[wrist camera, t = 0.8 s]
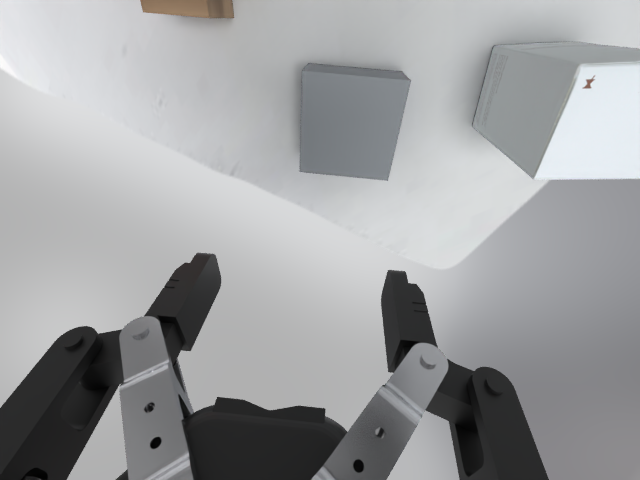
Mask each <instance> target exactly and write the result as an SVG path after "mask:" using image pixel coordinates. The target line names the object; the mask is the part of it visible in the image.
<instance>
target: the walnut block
mask: <svg viewBox="0 0 640 480" xmlns="http://www.w3.org/2000/svg"><path fill="white" fill-rule="evenodd" d="M140 1H141V5H142V9H143V12H147V13H158V14H170V15H181V16H192V17H204V18H234V14H233V3H232V0H140Z"/></svg>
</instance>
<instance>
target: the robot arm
mask: <svg viewBox="0 0 640 480" xmlns="http://www.w3.org/2000/svg"><path fill="white" fill-rule="evenodd" d="M220 286H221V275H220V271H219V267H218V263H217V259H216V256H215V255H214V254H207V253H197V254H196V255H195V256H194V258H193V260H192V261H191V263H184V264H183V265H181V266H180V267H179V268H178V269H176V270H175V272H174V273H173V274H172V276H171V277H170V279H169V281H168V282H167V283H166V285H165V287H164V288H163V289H162V291H161V292H160V294H159V295H158V297H157V298H156V300H155V301H154V303H153V304H152V305H151V307H150V309H149V310H148V311H147V313H146V314H145V316H144V317H140V318H137V319H135V320H133V321H131V322H130V323H128V324H127V325H126V326H125V327H124V328H123V329H122V330H117V331H111V332H106V333H100V334H98V333H97V332H96V331H95V329H93V328H92V327H88V326H84V327H78V328H74V329H72V330H70V331H68V332H66V333H65V334H63V335H61V336H60V337H59V338H58V339H57V340H56V341H55V342H54V343H53V345H52V346H51V347H50V348H49V349H48V351H47V352H46V353H45V354H44V356H43V357H42V358H41V359H40V360H39V362H38V363H37V364H36V365H35V367H34V368H33V369H32V370H31V371H30V373H29V374H28V375H27V376H26V378H25V379H24V380H23V381H22V382H21V384H20V385H19V386H18V387H17V388H16V390H15V391H14V392H13V393H12V395H11V396H10V397H9V398H8V399H7V401H6V402H5V403H4V404H3V405H2V407H1V408H0V480H67V478H68V476H69V474H70V472H71V471H72V469H73V467H74V465H75V463H76V462H77V460H78V458H79V456H80V454H81V452H82V451H83V449H84V447H85V445H86V443H87V442H88V440H89V438H90V436H91V434H92V433H93V431H94V429H95V427H96V425H97V424H98V422H99V420H100V418H101V417H102V415H103V413H104V411H105V409H106V408H107V406H108V404H109V402H110V400H111V399H112V397H113V395H114V393H115V391H116V389H117V388H118V386H119V384H121V385H120V401H121V411H122V419H123V420H122V421H123V430H124V440H125V449H126V458H127V468H128V469H127V470H126V471H125V472H124V473H123V474H122V475H120V476H119V477H118V478H117V479H116V480H386V479H387V478H388V476H389V474H390V472H391V470H392V469H393V467H394V465H395V464H396V462H397V460H398V458H399V457H400V455H401V453H402V451H403V450H404V448H405V446H406V444H407V442H408V441H409V439H410V437H411V435H412V434H413V432H414V430H415V428H416V427H417V425H418V423H419V421H420V419H421V418H422V415H423V413H424V412H425V410H426V411H428V412H430V413H433V414H435V415H437V416H439V417H441V418H444V419H446V420H448V421H449V424H450V430H451V435H452V440H453V446H454V451H455V456H456V462H457V467H458V473H459V478H460V480H549V479H548V477H547V474H546V471H545V468H544V466H543V463H542V460H541V458H540V455H539V453H538V450H537V447H536V444H535V442H534V439H533V437H532V434H531V431H530V428H529V426H528V423H527V420H526V418H525V415H524V413H523V410H522V407H521V405H520V402H519V399H518V397H517V394H516V391H515V389H514V386H513V385H512V383H511V382H510V381H509V379H508V378H507V377H506V376H505V375H503V374H502V373H501V372H499V371H497V370H495V369H493V368H489V367H480V368H478V369H476V370H475V371H472V370H469V369H467V368H464V367H462V366H460V365H457V364H455V363H453V362H451V361H450V360H448V359H447V358H446V356H445V355H444V353H443V352H442V351H441V350H440V349H438V347H437V344H436V341H435V337H434V333H433V329H432V325H431V321H430V317H429V314H428V309H427V306H426V302H425V298H424V294H423V292H422V291H421V289H420V288H419V287H418V286H417V284H410V283H408V280H407V275H406V272H405V271H394V270H388V272H387V276H386V279H385V283H384V287H383V291H382V298H381V306H382V317H383V326H384V336H385V345H386V355H387V363H388V372H393V375H392V376H391V377H390V379H389V380H388V381H387V383H386V384H385V385H383V386H381V388H380V389H379V390H378V391H377V393H376V394H375V395H374V397H373V398H372V400H371V401H370V402H369V404H368V405H367V406H366V408H365V409H364V410H363V412H362V413H361V415H360V416H359V417H358V419H357V420H356V422H355V423H354V424H353V425H352V427H351V428H350V430H349V431H348V432H347V431H346V430H345V429H344V428H343V427H342V426H341V425H339V424H338V423H337V422H335V421H334V420H332V419H330V418H328V417H326V416H325V409H324V408H315V407H306V406H294V407H289V408H283V409H277V410H266V409H264V408H261V407H259V406H257V405H254V404H252V403H250V402H247V401H245V400H240V399H231V398H221V397H217V399H216V402H215V405H213V406H209V407H206V408H203V409H201V410H199V411H196V412H195V413H194V411H193V409H192V406H191V403H190V401H189V398H188V394H187V391H186V387H185V384H184V380H183V376H182V373H181V369H180V365H179V362H178V359H177V357H178V355H179V353H180V351H181V350H184V351H191V349H192V347H193V345H194V343H195V340H196V338H197V336H198V334H199V332H200V330H201V328H202V325H203V323H204V321H205V319H206V317H207V315H208V313H209V311H210V309H211V306H212V304H213V302H214V300H215V298H216V296H217V294H218V292H219V289H220ZM122 383H123V384H122Z"/></svg>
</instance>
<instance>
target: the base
mask: <svg viewBox="0 0 640 480" xmlns="http://www.w3.org/2000/svg"><path fill="white" fill-rule="evenodd" d="M410 82H411V80H410V79H409V78H408V77H407V76H406V75H405V74H404V73H403V72H400V71H389V70H378V69H367V68H356V67H345V66H334V65H323V64H312V63H309V64H308V65H307V66H306V67H305V68H304V69H303V70H302V100H301V136H300V172H306V173H316V174H326V175H336V176H347V177H357V178H367V179H377V180H387V181H388V178H389V173H390V169H391V165H392V160H393V156H394V152H395V147H396V143H397V139H398V134H399V130H400V126H401V121H402V117H403V113H404V108H405V104H406V100H407V95H408V91H409V87H410Z"/></svg>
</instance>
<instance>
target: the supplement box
mask: <svg viewBox="0 0 640 480" xmlns="http://www.w3.org/2000/svg"><path fill="white" fill-rule="evenodd" d="M473 128H474V129H475V130H476V131H478V132H479V133H480V134H481V135H482V136H483V137H485V138H486V139H487V140H488V141H489V142H490V143H492V144H493V145H494V146H495V147H496V148H498V149H499V150H500V151H501V152H502V153H503V154H505V155H506V156H507V157H508V158H509V159H511V160H512V161H513V162H514V163H515V164H516V165H518V166H519V167H520V168H521V169H522V170H523V171H525V172H526V173H527V174H528V175H529V176H530V177H531V178H532V179H534V180H561V179H562V180H568V179H569V180H572V179H640V49H637V48H628V47H618V46H608V45H598V44H591V43H583V42H547V43H527V44H510V45H495V46H494V47H493V50H492V54H491V58H490V61H489V65H488V69H487V72H486V76H485V79H484V84H483V87H482V91H481V95H480V99H479V102H478V106H477V110H476V114H475V118H474V122H473Z"/></svg>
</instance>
